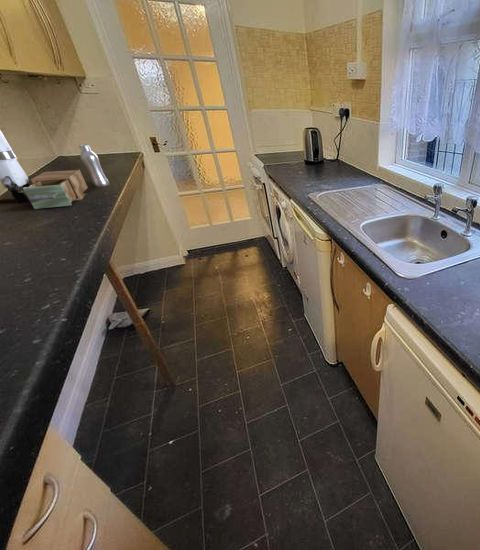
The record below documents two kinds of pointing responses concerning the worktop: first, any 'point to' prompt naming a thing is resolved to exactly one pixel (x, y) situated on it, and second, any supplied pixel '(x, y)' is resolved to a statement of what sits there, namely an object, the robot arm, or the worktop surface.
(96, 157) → the silver metal bottle
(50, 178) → the cabinet
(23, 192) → the glue stick
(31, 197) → the drawer
